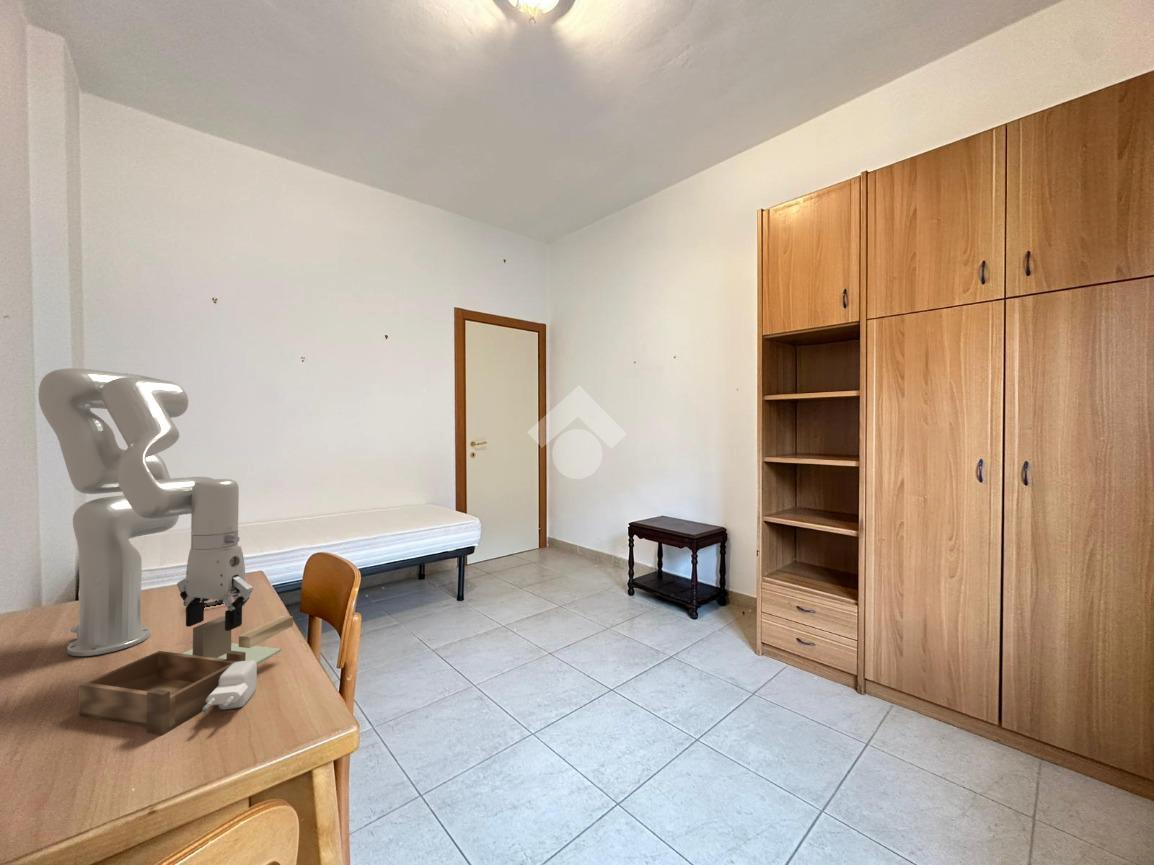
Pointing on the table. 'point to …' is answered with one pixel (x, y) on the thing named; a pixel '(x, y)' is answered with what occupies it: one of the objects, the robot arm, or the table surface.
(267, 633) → the tan rectangular block
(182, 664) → the brown wooden open box
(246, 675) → the power adapter
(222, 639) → the lid
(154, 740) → the table surface
